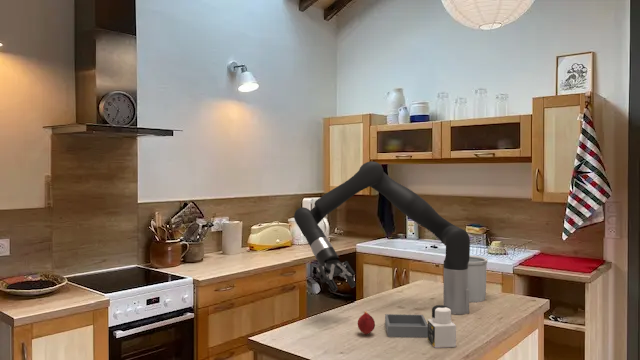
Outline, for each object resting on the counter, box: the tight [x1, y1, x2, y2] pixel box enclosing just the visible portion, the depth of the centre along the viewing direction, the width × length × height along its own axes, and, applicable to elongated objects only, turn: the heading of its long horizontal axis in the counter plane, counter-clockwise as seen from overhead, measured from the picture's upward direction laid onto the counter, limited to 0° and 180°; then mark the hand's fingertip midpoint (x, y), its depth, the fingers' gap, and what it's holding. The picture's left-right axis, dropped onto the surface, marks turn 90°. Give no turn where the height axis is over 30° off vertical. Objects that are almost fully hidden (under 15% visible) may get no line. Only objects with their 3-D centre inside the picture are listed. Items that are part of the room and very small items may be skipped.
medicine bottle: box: [427, 304, 457, 349], centre depth 159 cm, size 7×7×12 cm
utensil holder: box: [468, 254, 488, 303], centre depth 214 cm, size 15×15×18 cm
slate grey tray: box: [384, 313, 428, 339], centre depth 172 cm, size 14×14×4 cm
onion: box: [357, 310, 376, 336], centre depth 168 cm, size 6×6×8 cm
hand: (345, 288), depth 176 cm, fingers open, 8 cm apart
